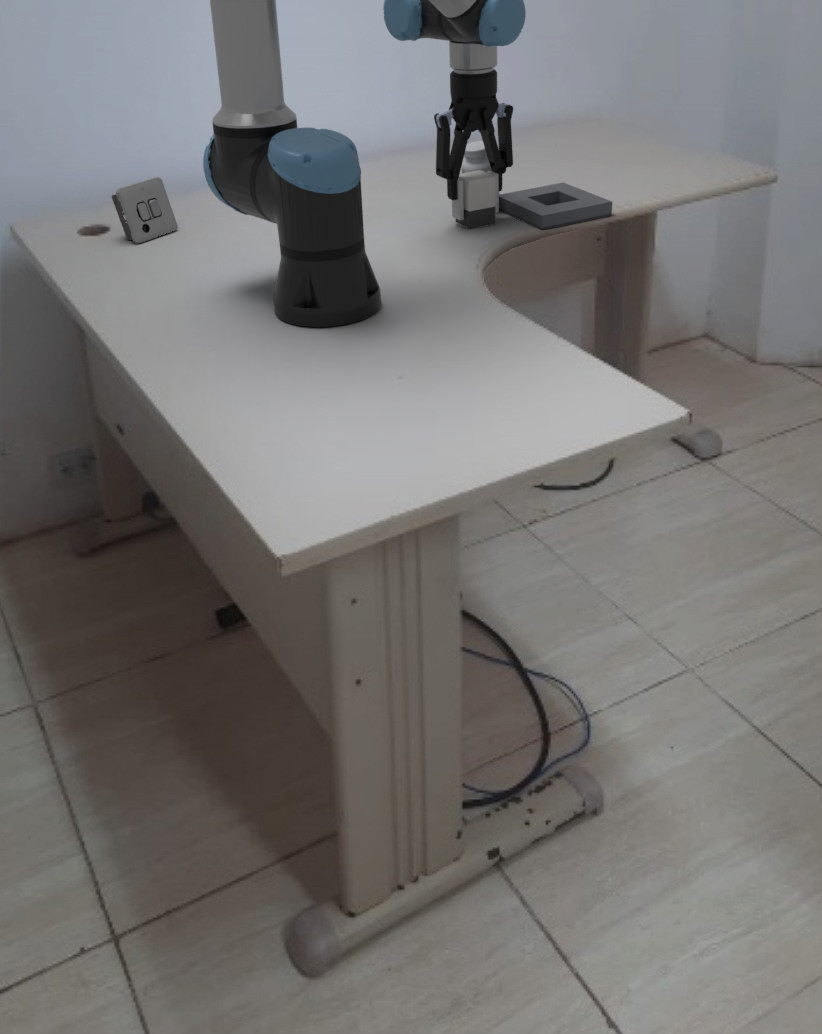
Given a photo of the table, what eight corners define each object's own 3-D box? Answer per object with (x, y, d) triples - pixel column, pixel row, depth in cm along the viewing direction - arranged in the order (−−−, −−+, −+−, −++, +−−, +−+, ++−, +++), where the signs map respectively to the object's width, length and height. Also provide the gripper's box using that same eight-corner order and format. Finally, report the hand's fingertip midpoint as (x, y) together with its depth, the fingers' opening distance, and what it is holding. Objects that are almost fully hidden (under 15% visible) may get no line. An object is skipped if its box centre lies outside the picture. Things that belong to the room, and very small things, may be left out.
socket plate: (611, 215, 181) (612, 201, 179) (542, 230, 176) (542, 215, 174) (562, 195, 192) (563, 182, 191) (496, 208, 187) (496, 195, 186)
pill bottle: (465, 217, 186) (456, 154, 179) (469, 203, 191) (460, 141, 184) (499, 214, 185) (492, 150, 178) (502, 199, 189) (495, 137, 182)
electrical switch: (137, 245, 179) (123, 189, 175) (118, 243, 182) (104, 188, 178) (179, 231, 185) (167, 176, 181) (161, 229, 188) (148, 175, 184)
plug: (495, 224, 180) (495, 176, 176) (469, 229, 178) (468, 181, 174) (480, 217, 184) (480, 170, 180) (455, 222, 182) (454, 174, 178)
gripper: (512, 59, 174) (512, 200, 187) (409, 73, 167) (415, 218, 180) (537, 65, 168) (534, 210, 181) (431, 80, 162) (436, 230, 174)
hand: (475, 214), depth 180 cm, fingers open, 6 cm apart
